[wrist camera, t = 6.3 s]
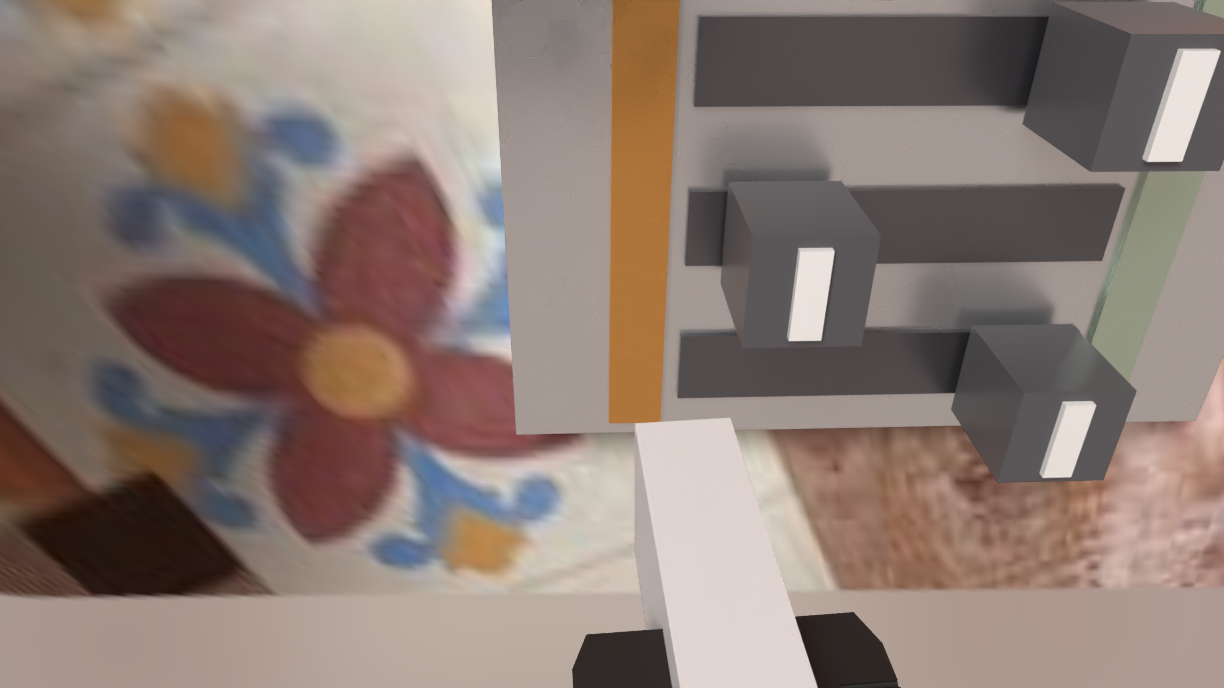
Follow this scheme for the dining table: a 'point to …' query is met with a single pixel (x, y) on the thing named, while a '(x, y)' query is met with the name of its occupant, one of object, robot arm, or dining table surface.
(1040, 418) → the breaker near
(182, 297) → the dining table surface
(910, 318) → the panel
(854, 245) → the breaker
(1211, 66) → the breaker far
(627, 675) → the robot arm
